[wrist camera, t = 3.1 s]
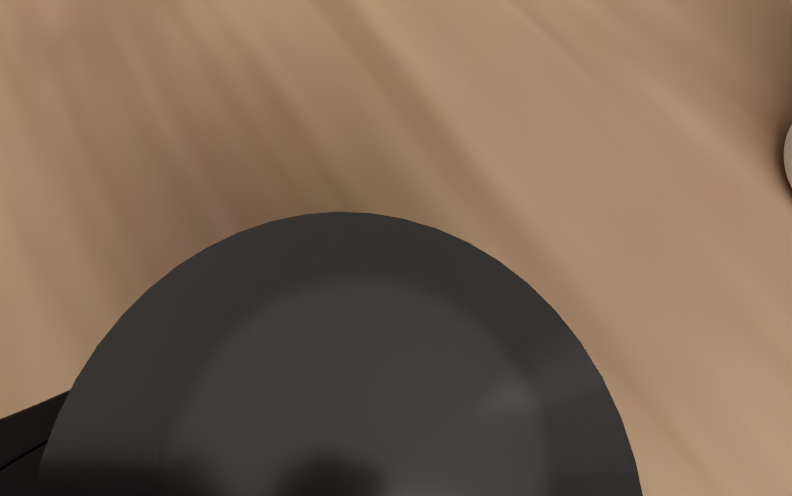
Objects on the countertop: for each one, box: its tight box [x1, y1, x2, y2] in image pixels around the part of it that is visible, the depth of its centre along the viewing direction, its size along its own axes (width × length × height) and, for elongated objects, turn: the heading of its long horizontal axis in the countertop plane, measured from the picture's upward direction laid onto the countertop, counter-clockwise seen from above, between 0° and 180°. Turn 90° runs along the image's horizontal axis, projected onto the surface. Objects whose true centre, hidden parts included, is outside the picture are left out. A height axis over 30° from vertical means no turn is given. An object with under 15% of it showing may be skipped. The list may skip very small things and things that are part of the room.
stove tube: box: [32, 212, 643, 496], centre depth 9 cm, size 4×4×12 cm
